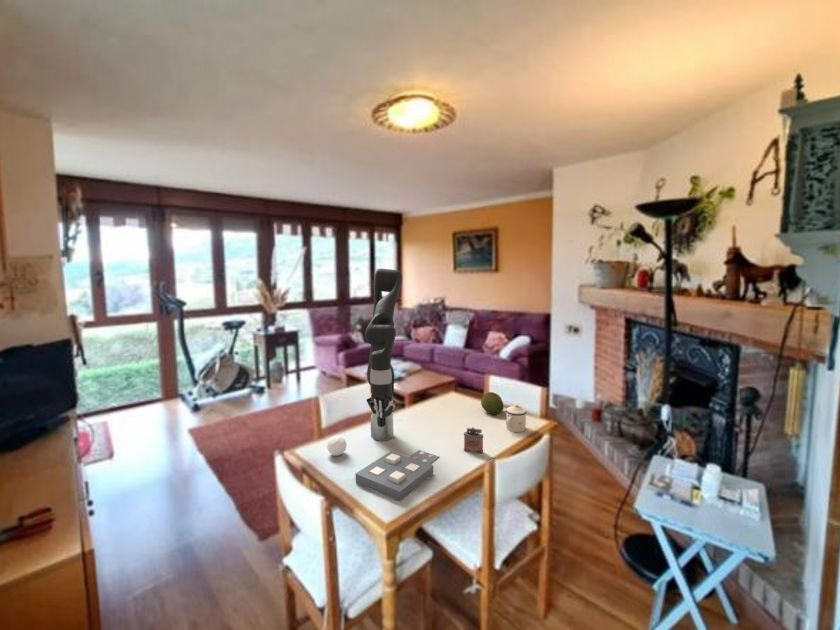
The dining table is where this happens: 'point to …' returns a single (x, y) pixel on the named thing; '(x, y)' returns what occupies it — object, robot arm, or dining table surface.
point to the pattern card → (424, 457)
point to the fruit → (492, 403)
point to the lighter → (473, 441)
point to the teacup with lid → (516, 418)
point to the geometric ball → (336, 445)
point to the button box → (382, 481)
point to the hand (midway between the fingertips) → (381, 426)
